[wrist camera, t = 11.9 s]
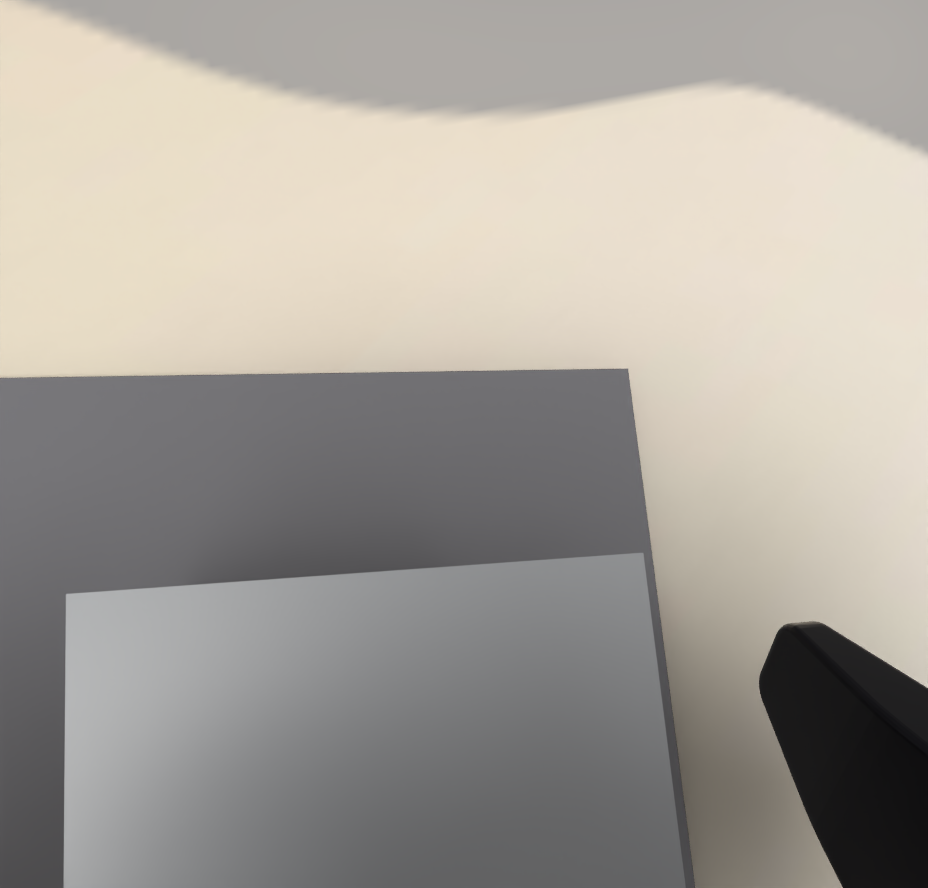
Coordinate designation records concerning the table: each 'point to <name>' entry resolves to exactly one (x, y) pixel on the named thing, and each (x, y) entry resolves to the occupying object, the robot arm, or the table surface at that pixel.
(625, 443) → the rubber mat
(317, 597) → the grey parts box
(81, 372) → the table surface
